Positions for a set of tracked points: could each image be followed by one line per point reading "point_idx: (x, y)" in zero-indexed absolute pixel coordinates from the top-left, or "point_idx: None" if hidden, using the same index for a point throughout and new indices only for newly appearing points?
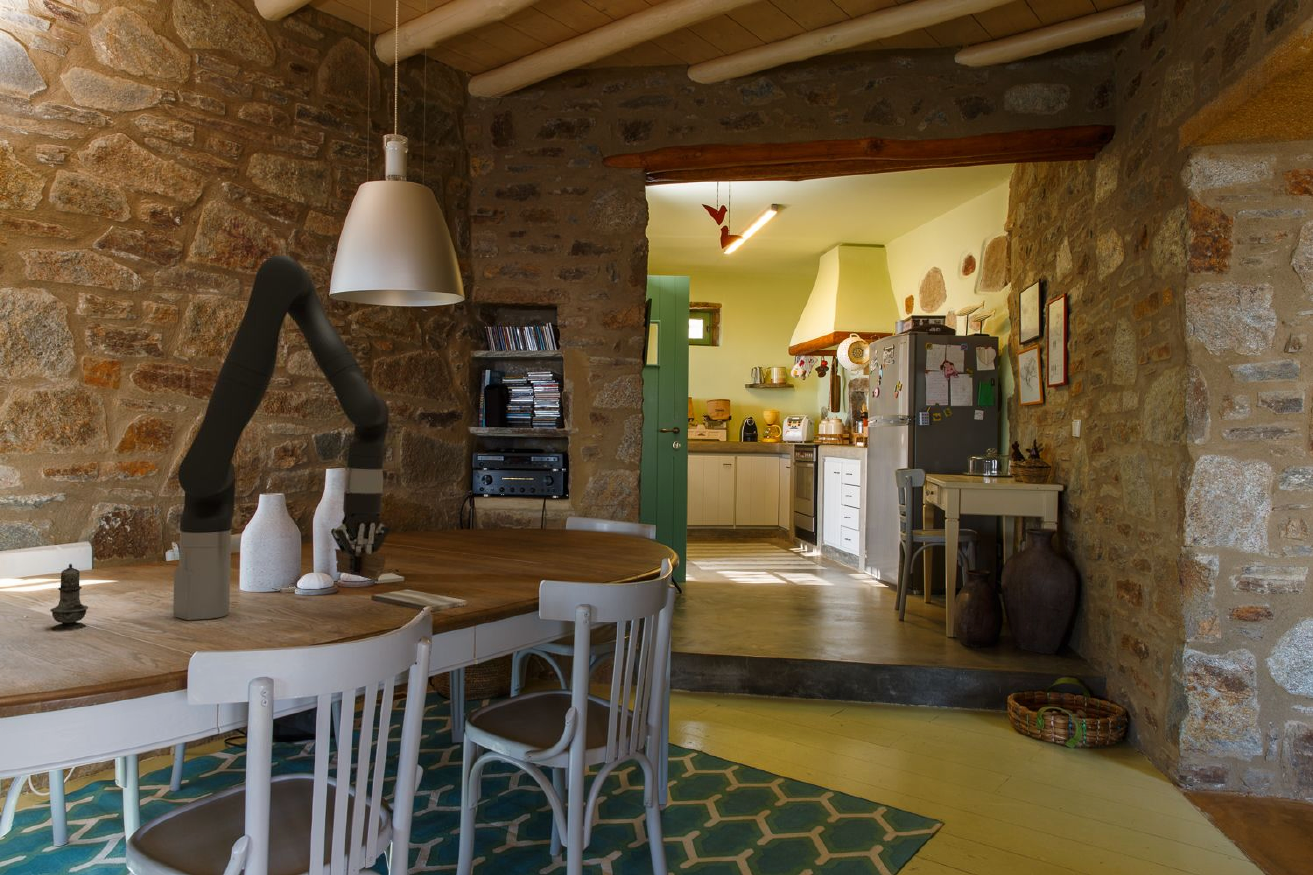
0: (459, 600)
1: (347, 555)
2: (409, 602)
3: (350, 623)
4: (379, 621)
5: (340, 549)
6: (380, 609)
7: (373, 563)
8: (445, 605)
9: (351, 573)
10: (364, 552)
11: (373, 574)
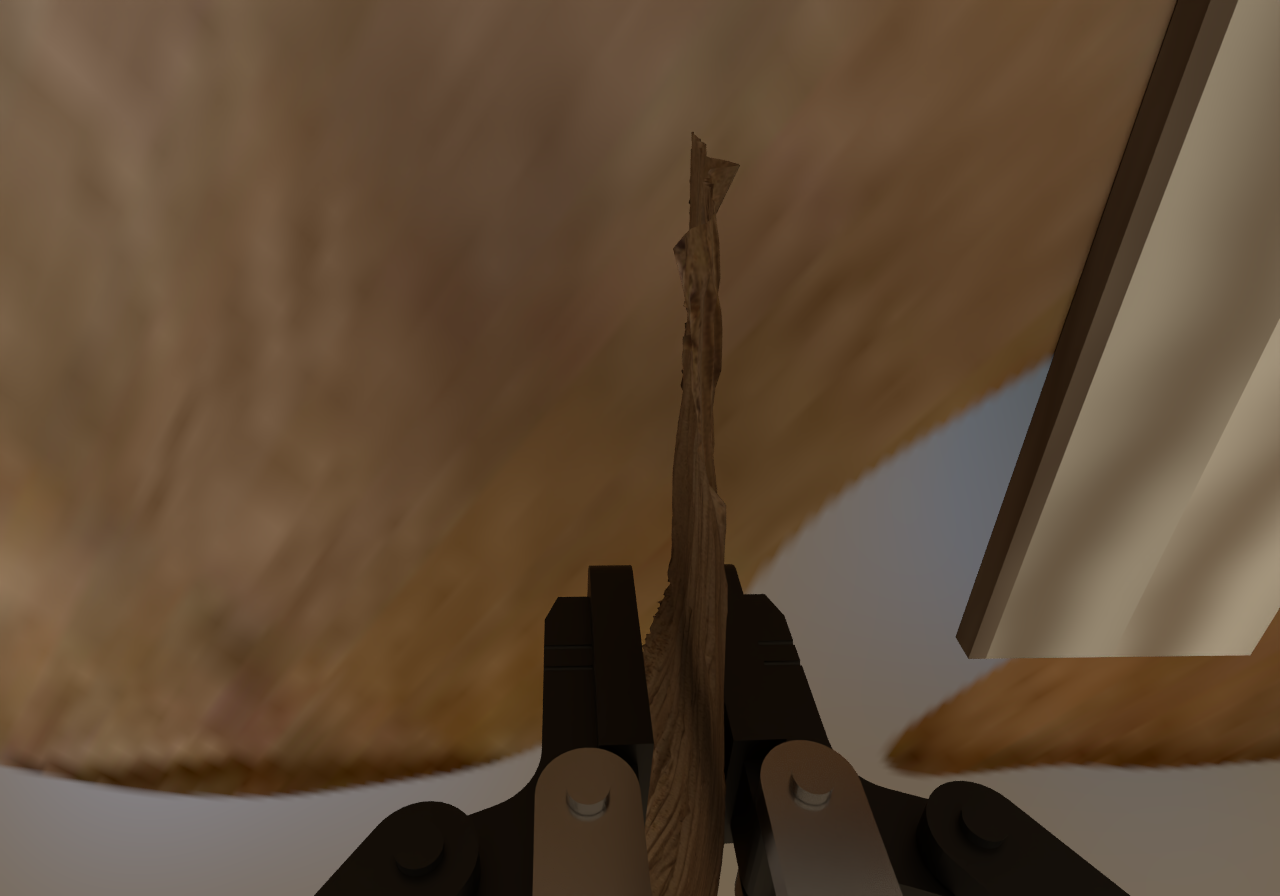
0: (1238, 628)
1: (707, 535)
2: (1052, 464)
3: (424, 554)
4: None
5: (335, 879)
6: (866, 361)
7: (682, 879)
8: (1077, 652)
9: (590, 566)
10: (740, 874)
11: None
